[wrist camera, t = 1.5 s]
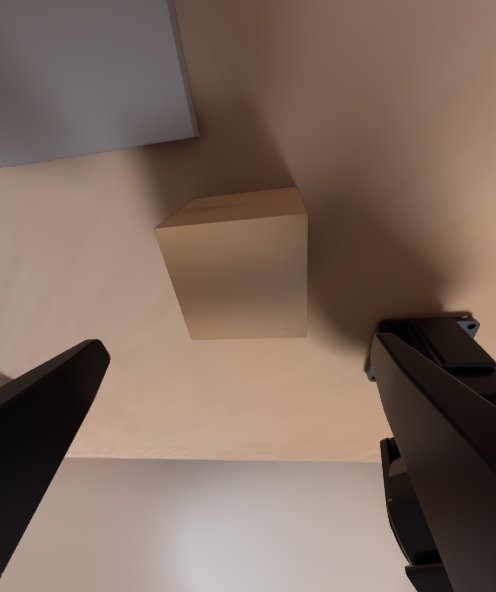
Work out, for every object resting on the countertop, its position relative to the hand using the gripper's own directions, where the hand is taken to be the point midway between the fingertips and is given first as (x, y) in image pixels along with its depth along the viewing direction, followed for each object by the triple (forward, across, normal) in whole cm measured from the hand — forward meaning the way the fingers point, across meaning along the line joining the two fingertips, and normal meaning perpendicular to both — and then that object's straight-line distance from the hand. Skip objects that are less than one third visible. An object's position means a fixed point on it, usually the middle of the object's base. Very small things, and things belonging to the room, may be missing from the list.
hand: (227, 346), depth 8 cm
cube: (+10, 0, 0) cm, 10 cm away
